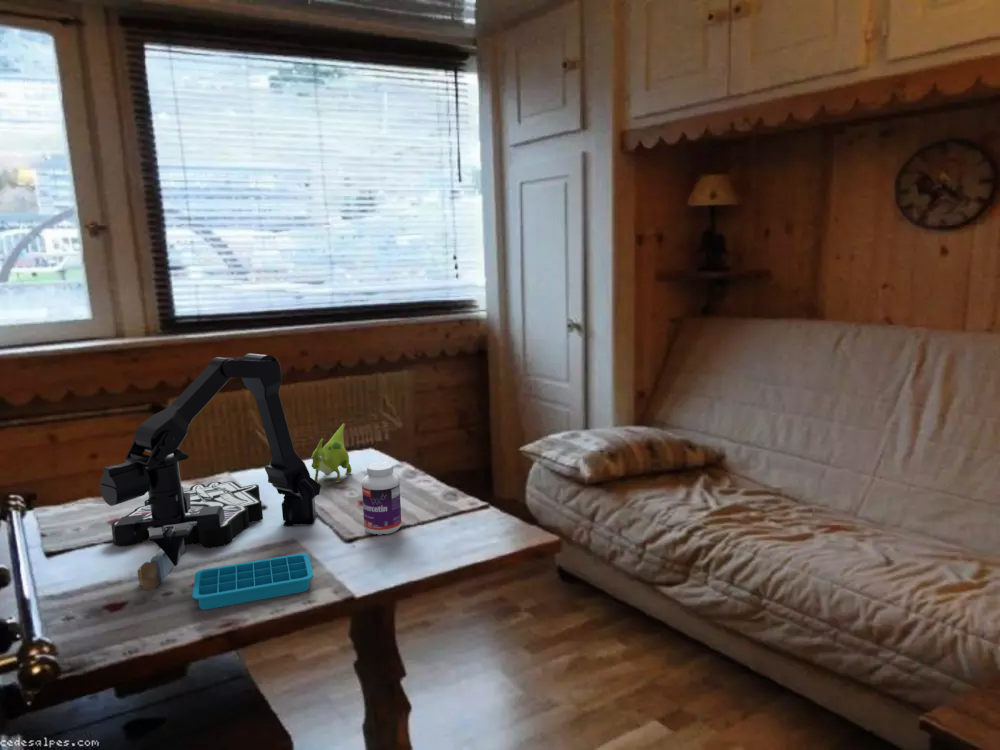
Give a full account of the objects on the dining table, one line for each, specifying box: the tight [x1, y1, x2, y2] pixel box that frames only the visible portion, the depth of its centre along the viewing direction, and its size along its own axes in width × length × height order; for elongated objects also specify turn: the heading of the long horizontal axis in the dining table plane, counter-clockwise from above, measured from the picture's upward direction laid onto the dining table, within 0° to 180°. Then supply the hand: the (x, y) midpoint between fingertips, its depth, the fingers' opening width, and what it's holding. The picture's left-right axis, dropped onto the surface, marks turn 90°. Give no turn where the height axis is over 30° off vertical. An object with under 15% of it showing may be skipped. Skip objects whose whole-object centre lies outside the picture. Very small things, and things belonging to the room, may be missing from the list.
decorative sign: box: [110, 480, 264, 549], centre depth 163 cm, size 28×4×30 cm
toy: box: [310, 423, 353, 483], centre depth 190 cm, size 8×21×15 cm, turn 171°
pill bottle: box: [361, 461, 402, 536], centre depth 154 cm, size 8×8×14 cm
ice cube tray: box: [192, 552, 314, 610], centre depth 130 cm, size 12×20×3 cm, turn 110°
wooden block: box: [137, 561, 159, 591], centre depth 132 cm, size 4×5×4 cm
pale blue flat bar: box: [150, 529, 186, 584], centre depth 139 cm, size 2×15×5 cm, turn 8°
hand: (176, 564), depth 136 cm, fingers closed
